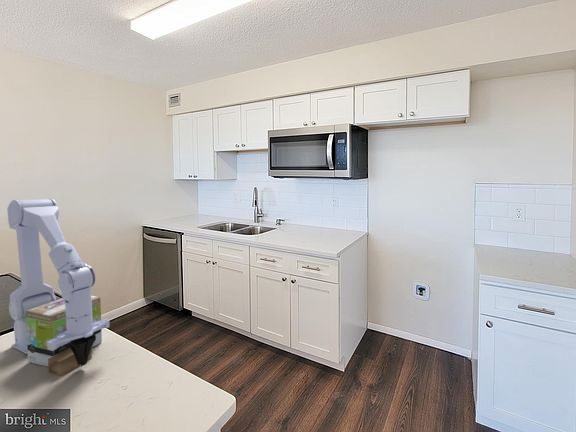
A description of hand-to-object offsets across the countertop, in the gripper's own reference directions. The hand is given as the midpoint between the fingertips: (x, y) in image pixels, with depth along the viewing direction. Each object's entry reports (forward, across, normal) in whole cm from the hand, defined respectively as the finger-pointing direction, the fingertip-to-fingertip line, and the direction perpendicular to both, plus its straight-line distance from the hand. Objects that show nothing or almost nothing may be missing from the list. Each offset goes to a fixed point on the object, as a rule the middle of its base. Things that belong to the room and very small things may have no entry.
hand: (82, 363), depth 84 cm
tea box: (+2, +3, +12) cm, 13 cm away
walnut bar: (+2, 0, +4) cm, 5 cm away
